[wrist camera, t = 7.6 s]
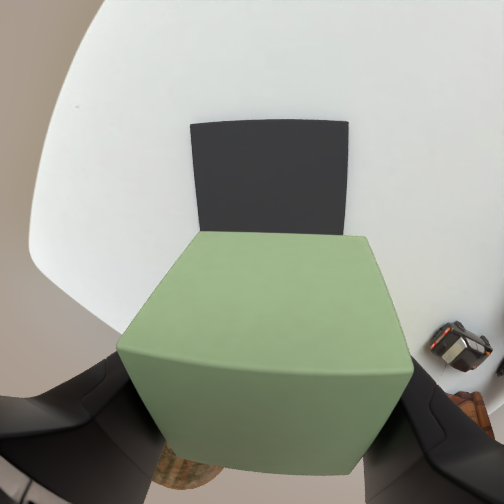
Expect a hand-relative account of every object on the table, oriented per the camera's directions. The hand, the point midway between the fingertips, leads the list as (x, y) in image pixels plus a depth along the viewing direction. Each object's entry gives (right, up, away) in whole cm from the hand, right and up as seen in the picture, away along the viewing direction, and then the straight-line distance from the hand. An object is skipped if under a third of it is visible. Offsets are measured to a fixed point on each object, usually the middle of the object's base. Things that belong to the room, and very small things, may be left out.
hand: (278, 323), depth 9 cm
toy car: (+18, -6, +14) cm, 23 cm away
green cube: (0, 0, +1) cm, 1 cm away
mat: (0, +6, +11) cm, 12 cm away
